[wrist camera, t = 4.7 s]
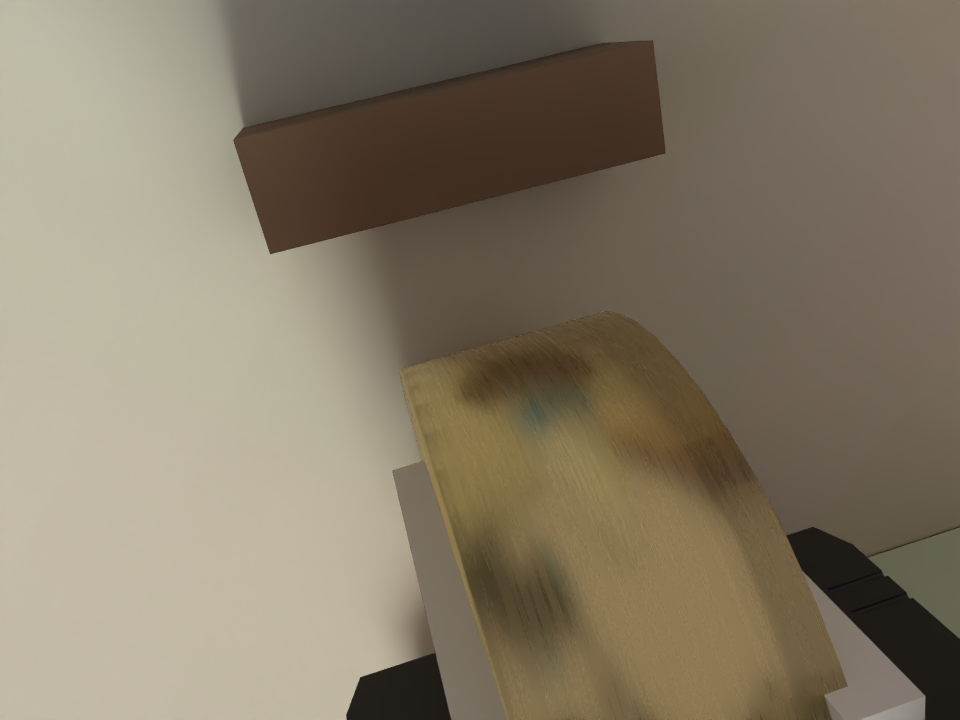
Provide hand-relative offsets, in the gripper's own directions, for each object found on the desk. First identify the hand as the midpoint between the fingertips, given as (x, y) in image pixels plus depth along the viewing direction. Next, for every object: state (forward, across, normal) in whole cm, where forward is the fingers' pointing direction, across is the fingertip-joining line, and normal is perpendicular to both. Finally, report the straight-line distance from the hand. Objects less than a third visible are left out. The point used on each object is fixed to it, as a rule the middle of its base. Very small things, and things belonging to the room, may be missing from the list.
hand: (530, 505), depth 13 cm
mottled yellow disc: (+2, 0, 0) cm, 2 cm away
